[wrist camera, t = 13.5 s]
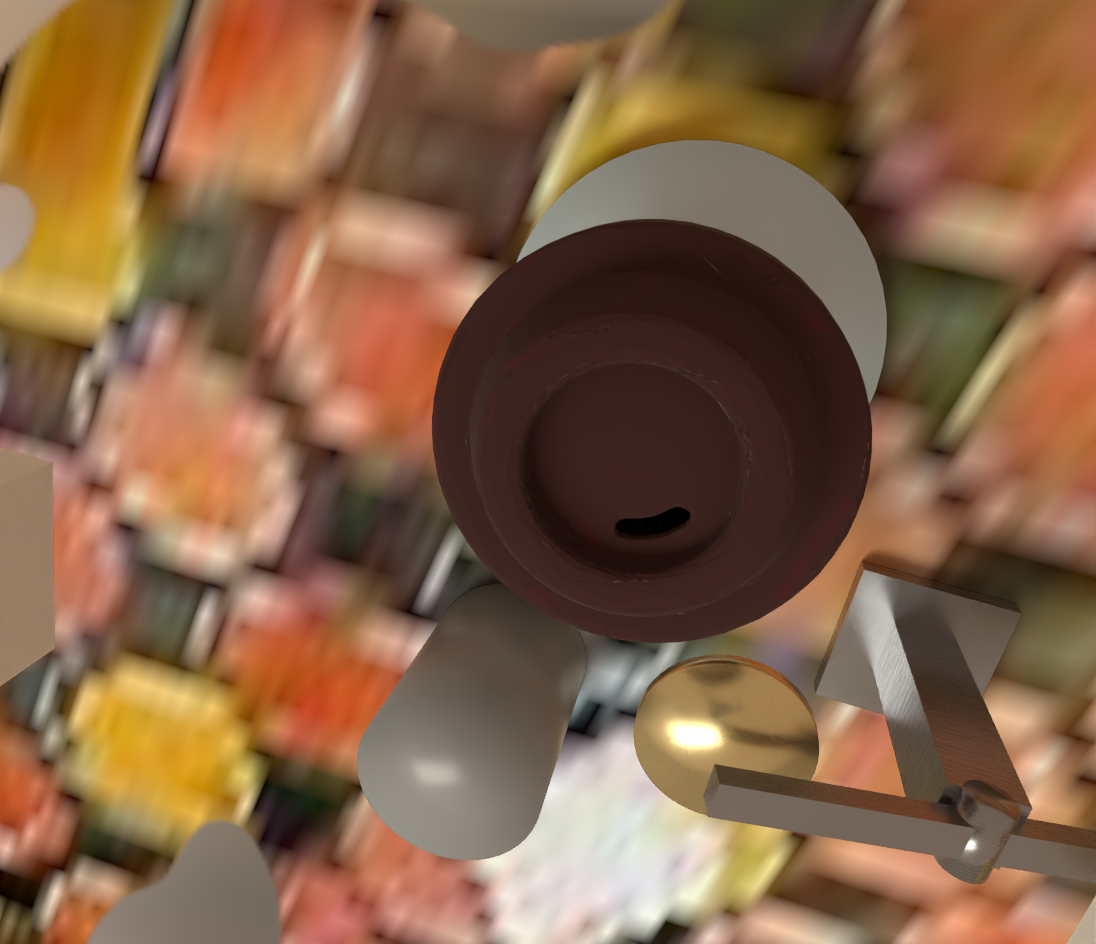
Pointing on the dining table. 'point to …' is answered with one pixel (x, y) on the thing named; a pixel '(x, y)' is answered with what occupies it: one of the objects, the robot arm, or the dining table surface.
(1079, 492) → the dining table surface
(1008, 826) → the balance
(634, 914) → the dining table surface
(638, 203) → the pale grey round disc
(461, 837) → the grey rounded capsule
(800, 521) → the coffee cup
